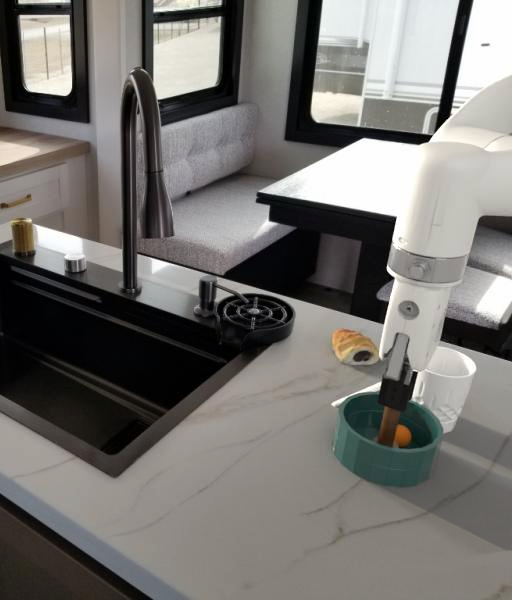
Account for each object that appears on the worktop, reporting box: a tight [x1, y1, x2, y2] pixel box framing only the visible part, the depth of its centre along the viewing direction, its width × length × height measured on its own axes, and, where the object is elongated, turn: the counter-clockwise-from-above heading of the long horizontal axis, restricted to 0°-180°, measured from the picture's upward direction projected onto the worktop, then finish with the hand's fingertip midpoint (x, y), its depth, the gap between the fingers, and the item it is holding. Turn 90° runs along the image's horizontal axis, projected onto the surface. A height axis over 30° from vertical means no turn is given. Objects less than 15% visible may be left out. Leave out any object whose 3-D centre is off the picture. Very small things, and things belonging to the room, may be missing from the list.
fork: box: [331, 381, 382, 408], centre depth 96 cm, size 3×20×2 cm, turn 118°
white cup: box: [411, 345, 477, 434], centre depth 87 cm, size 8×8×10 cm
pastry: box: [331, 328, 381, 366], centre depth 105 cm, size 9×7×4 cm
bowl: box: [331, 391, 444, 488], centre depth 81 cm, size 12×12×6 cm
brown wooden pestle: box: [372, 366, 407, 448], centre depth 77 cm, size 3×3×14 cm
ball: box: [394, 425, 412, 448], centre depth 83 cm, size 3×3×3 cm
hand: (394, 400), depth 77 cm, fingers closed on brown wooden pestle
